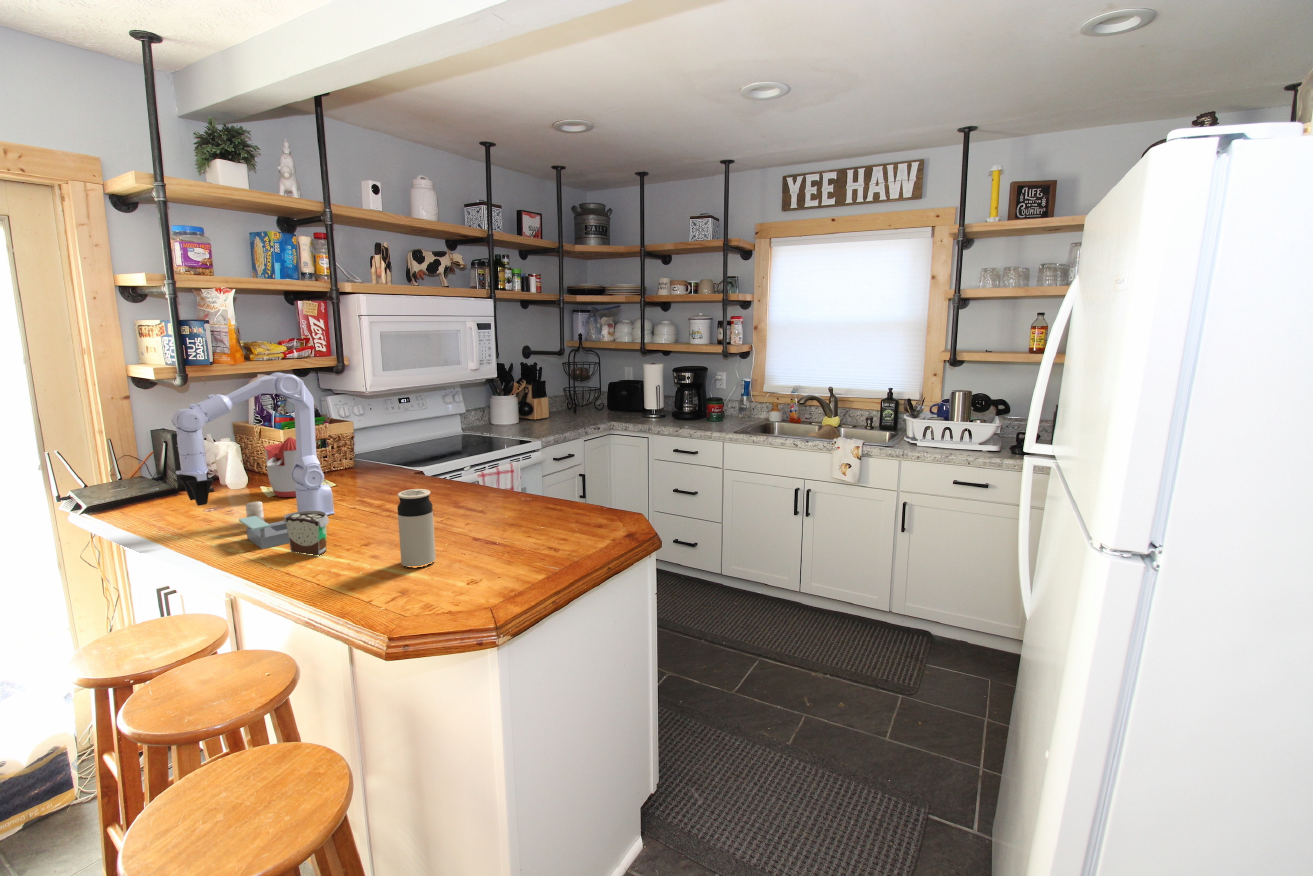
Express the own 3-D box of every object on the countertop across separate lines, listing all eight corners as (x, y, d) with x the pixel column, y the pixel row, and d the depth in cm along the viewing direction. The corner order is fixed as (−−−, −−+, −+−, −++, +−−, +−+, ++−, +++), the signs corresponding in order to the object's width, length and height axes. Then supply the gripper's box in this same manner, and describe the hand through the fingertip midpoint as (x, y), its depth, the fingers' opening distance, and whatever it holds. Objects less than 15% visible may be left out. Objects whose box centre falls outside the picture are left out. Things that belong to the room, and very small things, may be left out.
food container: (342, 549, 166) (339, 512, 164) (323, 557, 161) (320, 519, 159) (306, 544, 170) (303, 508, 168) (286, 551, 164) (282, 514, 163)
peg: (262, 527, 184) (259, 500, 182) (267, 530, 181) (264, 503, 180) (246, 530, 181) (243, 503, 179) (251, 533, 178) (248, 506, 177)
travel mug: (415, 571, 152) (410, 498, 148) (394, 564, 156) (389, 494, 153) (442, 561, 158) (438, 491, 155) (421, 555, 162) (417, 486, 159)
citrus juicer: (253, 500, 211) (247, 441, 208) (291, 487, 228) (286, 432, 225) (295, 502, 209) (289, 442, 205) (330, 489, 226) (325, 433, 222)
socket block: (295, 528, 183) (293, 508, 182) (311, 538, 175) (309, 517, 174) (241, 540, 173) (238, 518, 172) (255, 550, 165) (253, 528, 164)
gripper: (167, 451, 172) (174, 500, 175) (180, 459, 163) (187, 510, 165) (198, 448, 177) (204, 495, 180) (213, 455, 168) (219, 504, 170)
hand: (198, 502), depth 173 cm, fingers open, 7 cm apart
